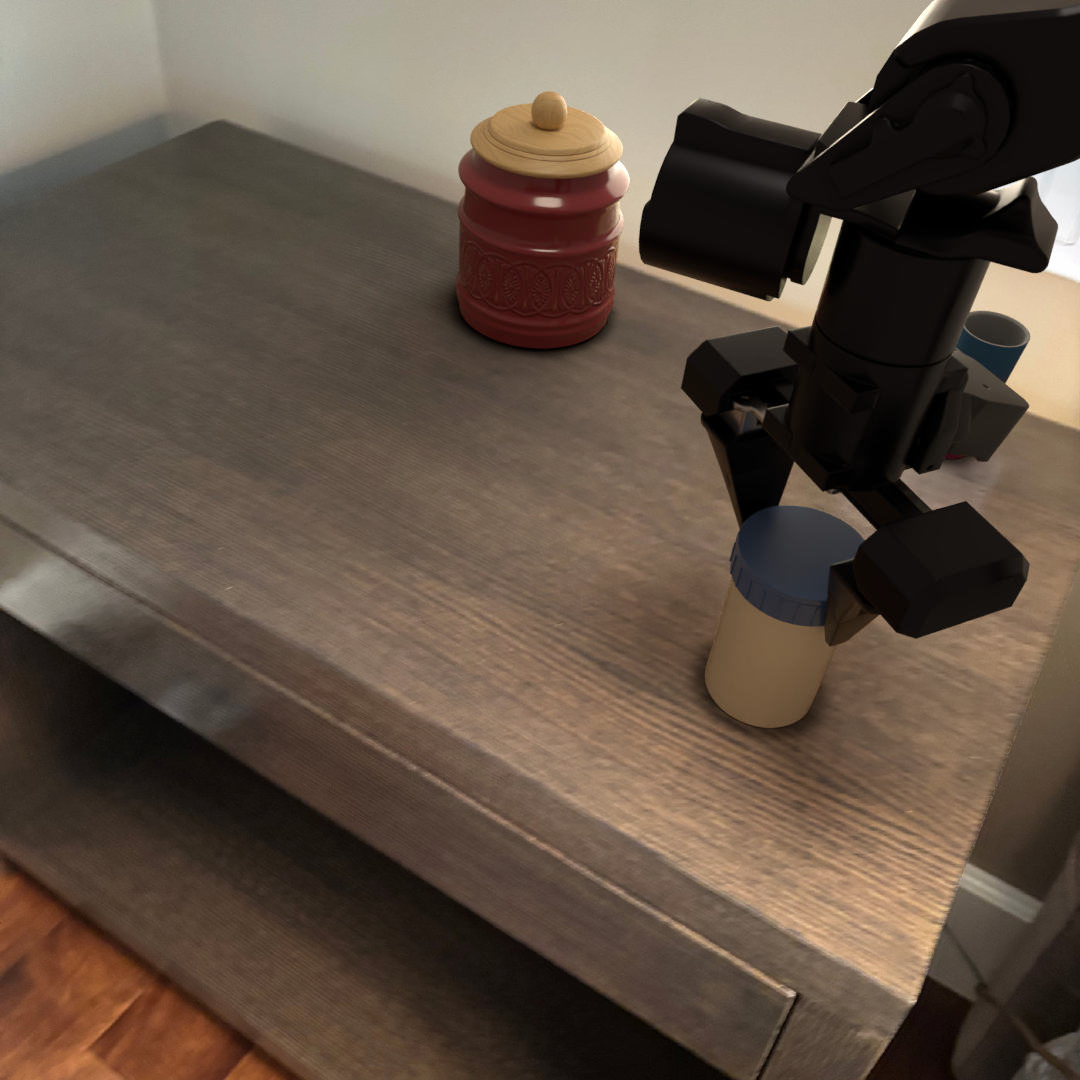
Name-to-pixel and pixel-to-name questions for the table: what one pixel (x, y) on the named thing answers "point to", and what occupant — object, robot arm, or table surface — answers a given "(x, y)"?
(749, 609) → the jar
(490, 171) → the kitchen canister
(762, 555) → the lid
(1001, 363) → the cup
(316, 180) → the table surface
